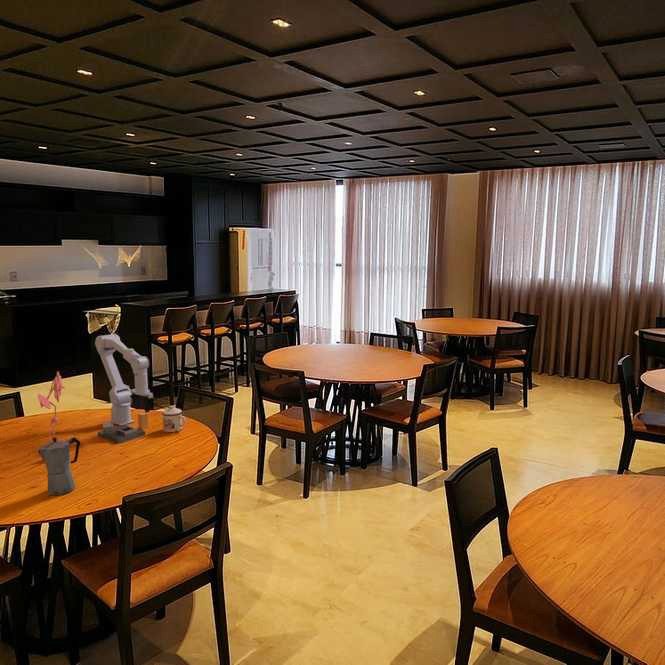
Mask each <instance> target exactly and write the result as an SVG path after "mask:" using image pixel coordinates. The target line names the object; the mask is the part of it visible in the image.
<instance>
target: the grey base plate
mask: <svg viewBox="0 0 665 665" xmlns="http://www.w3.org/2000/svg"><path fill="white" fill-rule="evenodd" d="M144 436H146V431H145V430H144V429H140V428H137V427H134V426H130V425H128V424H124V425H118V426H115V427H114V423H113V422H111V420H109V421H105V422H104V421H103V422H102V430H101V431H97V437H100V439H105V440H106V441H107V440H108V441H110V442H112V443H114V444H121V443H126V442H127V441H132V440H134V439H138V438H141V437H144Z"/></svg>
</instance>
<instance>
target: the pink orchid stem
mask: <svg viewBox="0 0 665 665" xmlns="http://www.w3.org/2000/svg"><path fill="white" fill-rule="evenodd" d="M62 389H64V390H65V389H66V388H65V387H64V386H63V383H62V375H60V372H59V371H57V372H56V375H55V377H54V379H52V384H51V387H50V390H49V392H48V395H47V396H44V395H42V394H40V393H38V394H37V399H38V401H39V404H40V408H43V407H45V408H46V409H48V410H51V408H52V407H51V406H53V407H54V416H53V417H51V419H50V425H51V426H50V428H49V429H48V436H49V442H52V437H51V433H50V431H51V429H52V434H53V438H54V437H56V435H55V434H56V433H55V429H54V425H55V424H56V423H57V424H58V421H59V418H58V417H57V406H56V405H55V404H54V403H53V402H51V401H50V400H49V399H50V397H51V395H52V392H53V391H54V392H53V393H54V395H53V396H54V399H56V401H57V403H60V397H61V395H62ZM76 445H77V444H74V446H75V447H76ZM79 449H82V446H79ZM79 456H80V454H78V457H79ZM38 464H39V465H43V464H44V463H43V462H41V463H38Z"/></svg>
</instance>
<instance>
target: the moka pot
mask: <svg viewBox="0 0 665 665" xmlns="http://www.w3.org/2000/svg"><path fill="white" fill-rule="evenodd" d="M74 443H76V444H75V445H76V446H75V453H74V454H75V455H74V458H73V460H70V450H71V449H70V446H71V445H73V444H74ZM80 447H81V440H79V439H78V438H76V437H75V436H74V437H71V438H68V439H65V440H58V438H57V437H56V436H55V437H54V436H53V437H51V442H50V441H49V442H46V443H45V444H42V445H41V446H40V448H39V449H38V450H37V451H36V454H39V456H40V457H41V458H42V460H43V461H44V463H45V466H46V470H47V474H46V476H47V493H48V494H49V495H50V496H60V495H65V494H67V493H70V492H71V491H73V490H75V488H76V485H75V482H74V481H75V480H74V478H73V474H72V471H71V468H70V464H71V465H73V464H74V463H76V462H77V461H78V457H79V456H78V455H79V451H80Z"/></svg>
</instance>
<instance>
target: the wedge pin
mask: <svg viewBox="0 0 665 665" xmlns="http://www.w3.org/2000/svg"><path fill="white" fill-rule="evenodd" d="M148 413H149V412H145V411H144V412H140V413H138V414H137V420H138V421H137V422H138V425H137V426H138V428H137V429H140V430H146V429H148V428H149V416H148V415H149V414H148Z"/></svg>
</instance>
